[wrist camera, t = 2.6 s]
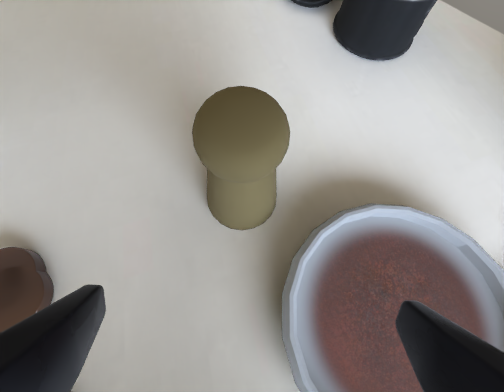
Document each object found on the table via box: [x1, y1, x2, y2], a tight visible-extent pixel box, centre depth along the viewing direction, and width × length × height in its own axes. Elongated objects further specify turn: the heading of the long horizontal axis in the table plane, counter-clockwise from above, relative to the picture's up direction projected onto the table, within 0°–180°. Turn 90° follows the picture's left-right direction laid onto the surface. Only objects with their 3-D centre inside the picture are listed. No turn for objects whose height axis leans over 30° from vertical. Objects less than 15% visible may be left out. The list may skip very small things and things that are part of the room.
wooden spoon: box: [0, 247, 53, 333], centre depth 17 cm, size 20×5×1 cm, turn 35°
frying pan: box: [282, 204, 504, 392], centre depth 19 cm, size 17×3×28 cm
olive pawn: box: [192, 86, 290, 230], centre depth 18 cm, size 6×6×11 cm
